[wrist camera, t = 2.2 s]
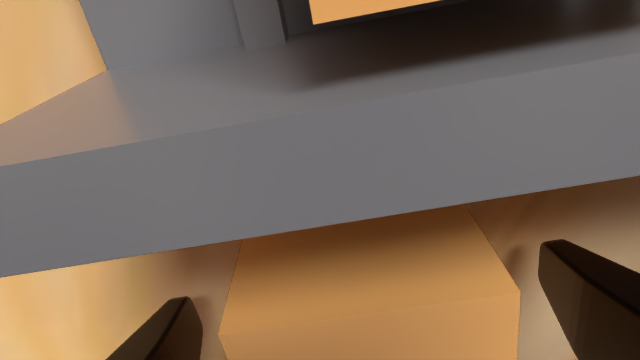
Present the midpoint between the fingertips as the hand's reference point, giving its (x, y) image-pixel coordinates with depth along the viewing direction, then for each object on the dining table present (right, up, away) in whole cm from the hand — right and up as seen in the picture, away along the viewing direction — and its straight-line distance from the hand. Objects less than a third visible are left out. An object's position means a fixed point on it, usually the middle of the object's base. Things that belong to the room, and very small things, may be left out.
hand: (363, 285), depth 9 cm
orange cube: (0, 0, +1) cm, 1 cm away
